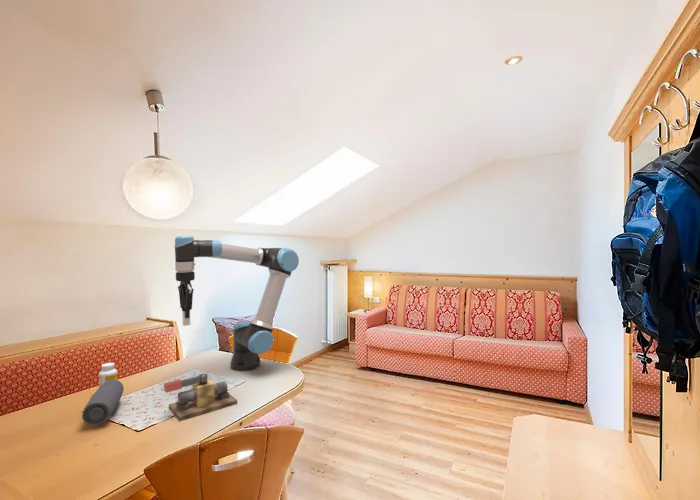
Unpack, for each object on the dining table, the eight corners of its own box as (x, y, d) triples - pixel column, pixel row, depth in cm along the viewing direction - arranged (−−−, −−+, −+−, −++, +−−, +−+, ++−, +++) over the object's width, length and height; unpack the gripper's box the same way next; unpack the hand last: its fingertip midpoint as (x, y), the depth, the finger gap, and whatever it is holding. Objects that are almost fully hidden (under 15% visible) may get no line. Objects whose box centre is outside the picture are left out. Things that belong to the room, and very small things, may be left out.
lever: (205, 380, 149) (205, 373, 149) (208, 382, 147) (208, 375, 147) (163, 390, 139) (163, 382, 139) (166, 393, 137) (166, 385, 136)
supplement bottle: (121, 391, 161) (120, 362, 161) (110, 397, 155) (109, 367, 154) (107, 390, 162) (106, 361, 162) (95, 396, 155) (94, 366, 155)
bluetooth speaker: (98, 404, 149) (98, 379, 149) (125, 400, 152) (124, 376, 152) (80, 431, 128) (79, 403, 127) (111, 426, 131) (110, 399, 131)
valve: (223, 392, 160) (223, 372, 159) (237, 403, 149) (237, 381, 149) (168, 407, 145) (168, 385, 145) (179, 421, 135) (179, 396, 134)
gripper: (199, 271, 158) (200, 326, 159) (188, 269, 168) (190, 321, 169) (180, 273, 153) (182, 329, 154) (171, 271, 163) (172, 324, 164)
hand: (186, 325), depth 162 cm, fingers closed
